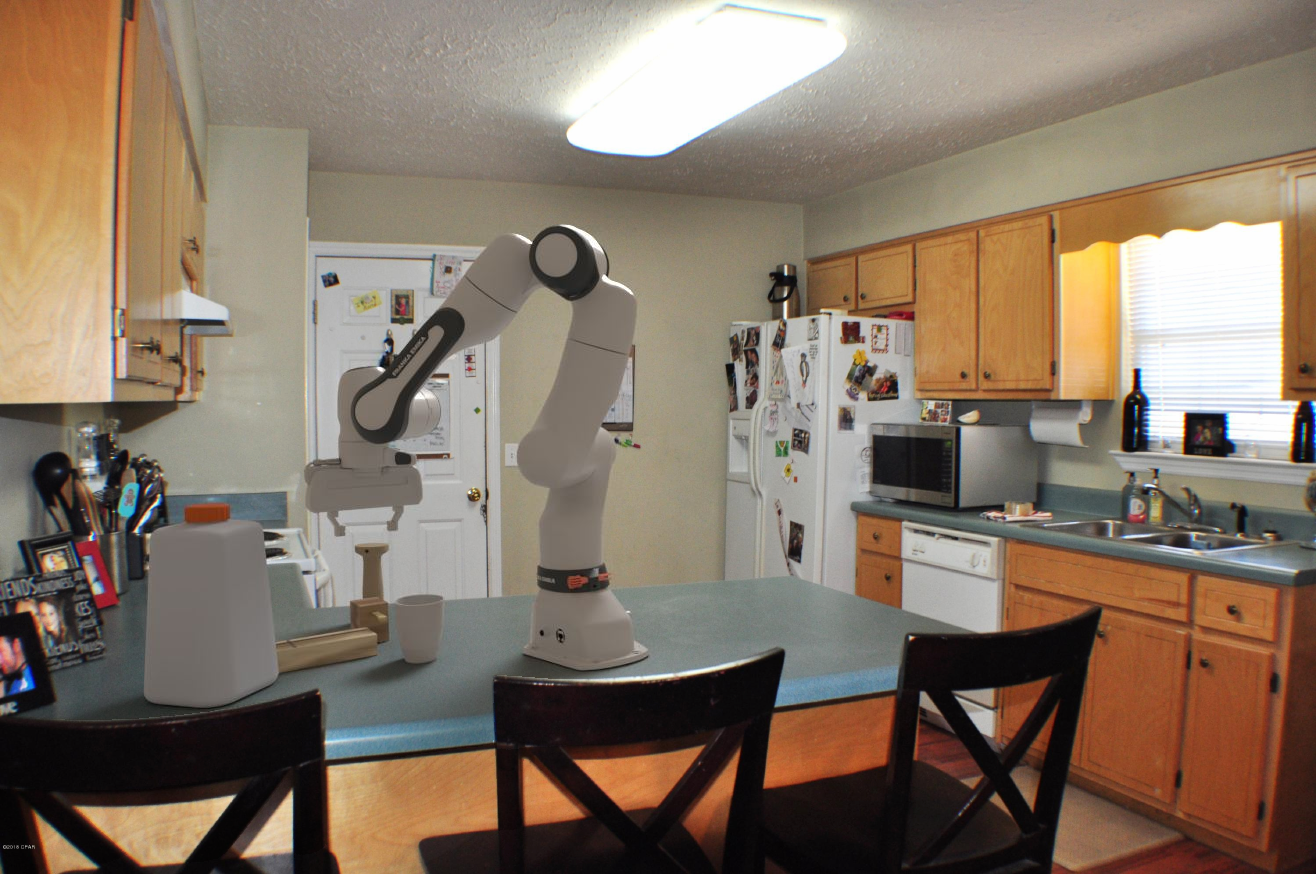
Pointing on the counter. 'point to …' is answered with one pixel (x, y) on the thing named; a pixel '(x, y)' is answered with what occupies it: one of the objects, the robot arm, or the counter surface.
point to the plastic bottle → (208, 611)
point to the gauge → (371, 616)
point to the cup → (420, 626)
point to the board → (325, 649)
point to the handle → (372, 568)
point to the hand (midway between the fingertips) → (366, 533)
